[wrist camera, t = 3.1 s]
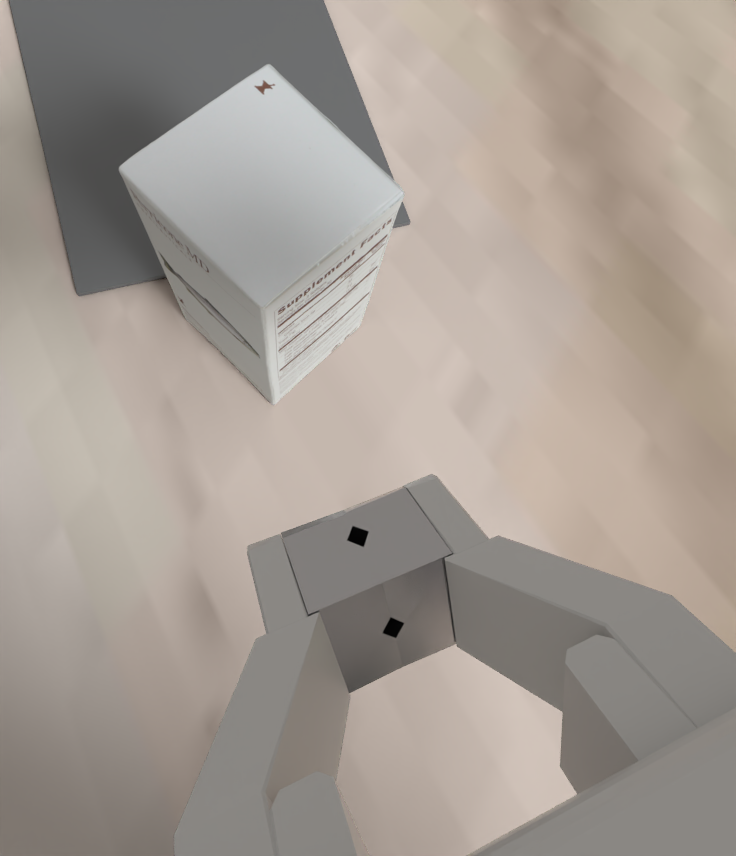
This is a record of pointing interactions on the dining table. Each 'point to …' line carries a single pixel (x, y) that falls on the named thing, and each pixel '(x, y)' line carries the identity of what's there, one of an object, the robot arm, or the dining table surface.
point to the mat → (159, 100)
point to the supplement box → (265, 227)
